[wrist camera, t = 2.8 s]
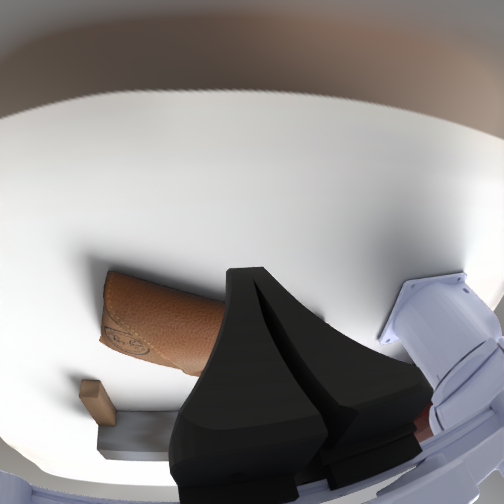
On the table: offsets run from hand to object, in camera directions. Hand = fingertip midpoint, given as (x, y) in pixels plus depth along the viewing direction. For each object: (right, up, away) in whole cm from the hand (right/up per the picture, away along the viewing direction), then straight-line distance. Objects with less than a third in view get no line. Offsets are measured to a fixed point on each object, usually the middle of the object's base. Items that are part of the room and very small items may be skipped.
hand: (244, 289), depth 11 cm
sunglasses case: (-3, -5, +13) cm, 14 cm away
